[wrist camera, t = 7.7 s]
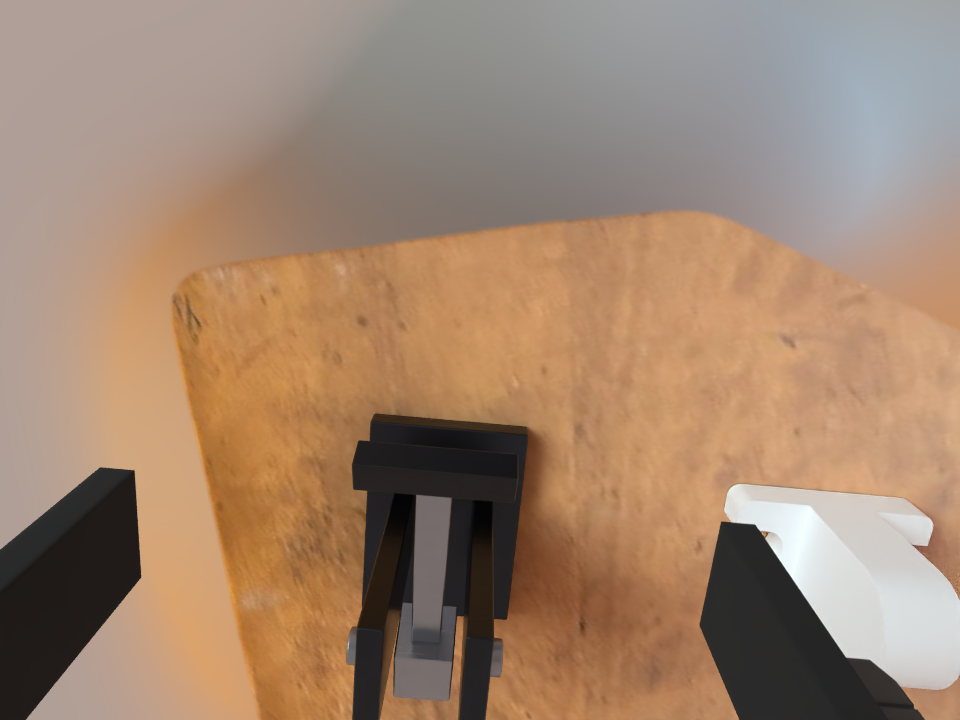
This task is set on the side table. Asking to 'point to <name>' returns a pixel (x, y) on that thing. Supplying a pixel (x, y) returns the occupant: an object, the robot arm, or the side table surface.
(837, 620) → the cable organizer
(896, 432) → the side table surface
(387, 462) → the press lever
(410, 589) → the lever bracket
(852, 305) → the side table surface
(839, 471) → the side table surface
